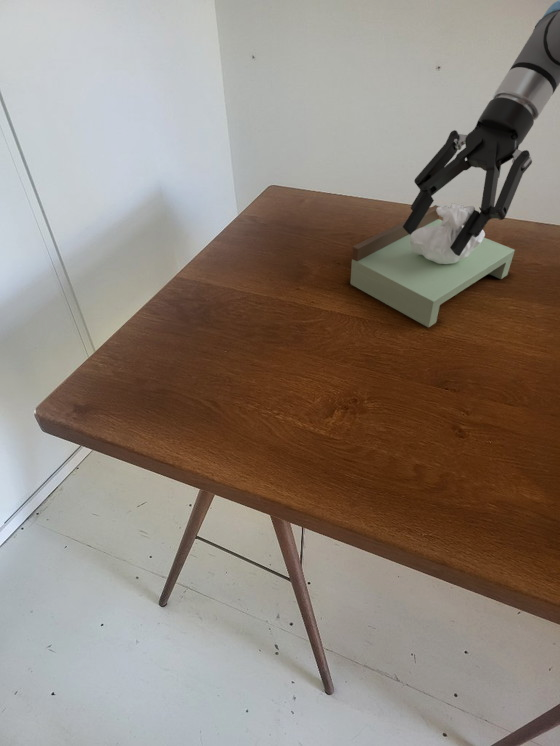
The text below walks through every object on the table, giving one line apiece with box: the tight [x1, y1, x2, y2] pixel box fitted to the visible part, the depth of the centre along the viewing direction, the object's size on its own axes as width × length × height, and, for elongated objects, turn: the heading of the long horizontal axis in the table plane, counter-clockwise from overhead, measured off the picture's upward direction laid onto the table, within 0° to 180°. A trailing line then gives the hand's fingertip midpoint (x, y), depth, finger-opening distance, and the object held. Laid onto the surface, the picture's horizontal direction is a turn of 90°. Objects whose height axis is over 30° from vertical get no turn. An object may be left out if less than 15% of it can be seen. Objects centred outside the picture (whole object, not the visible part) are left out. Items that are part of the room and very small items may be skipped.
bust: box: [410, 202, 486, 264], centre depth 83 cm, size 12×8×11 cm
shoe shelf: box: [350, 204, 516, 328], centre depth 89 cm, size 17×22×7 cm
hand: (430, 241), depth 83 cm, fingers open, 9 cm apart
